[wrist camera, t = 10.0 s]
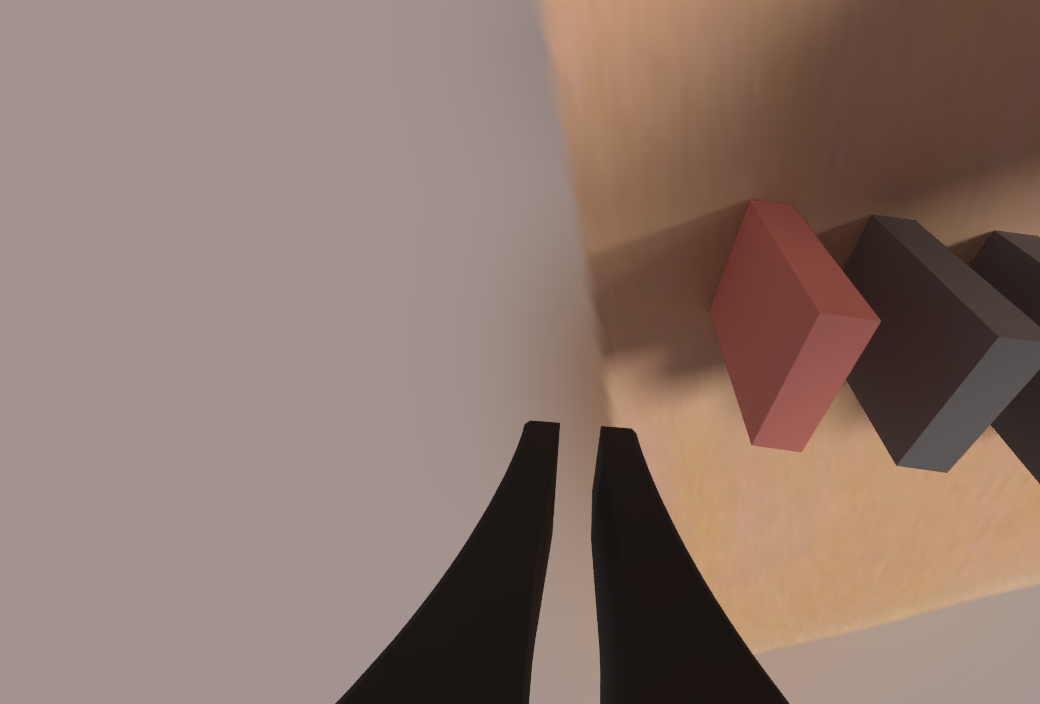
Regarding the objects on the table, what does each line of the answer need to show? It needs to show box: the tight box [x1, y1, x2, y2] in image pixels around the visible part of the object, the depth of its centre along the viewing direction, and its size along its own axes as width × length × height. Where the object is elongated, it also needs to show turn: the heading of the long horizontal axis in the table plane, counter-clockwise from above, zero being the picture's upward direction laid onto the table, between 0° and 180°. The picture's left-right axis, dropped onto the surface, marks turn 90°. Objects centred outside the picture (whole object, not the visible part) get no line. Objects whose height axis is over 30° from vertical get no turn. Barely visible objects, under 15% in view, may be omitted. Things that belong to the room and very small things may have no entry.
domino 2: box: [970, 231, 1040, 484], centre depth 16 cm, size 1×4×7 cm, turn 175°
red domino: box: [709, 200, 881, 452], centre depth 16 cm, size 1×4×7 cm, turn 176°
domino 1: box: [843, 215, 1040, 473], centre depth 16 cm, size 1×4×7 cm, turn 175°
